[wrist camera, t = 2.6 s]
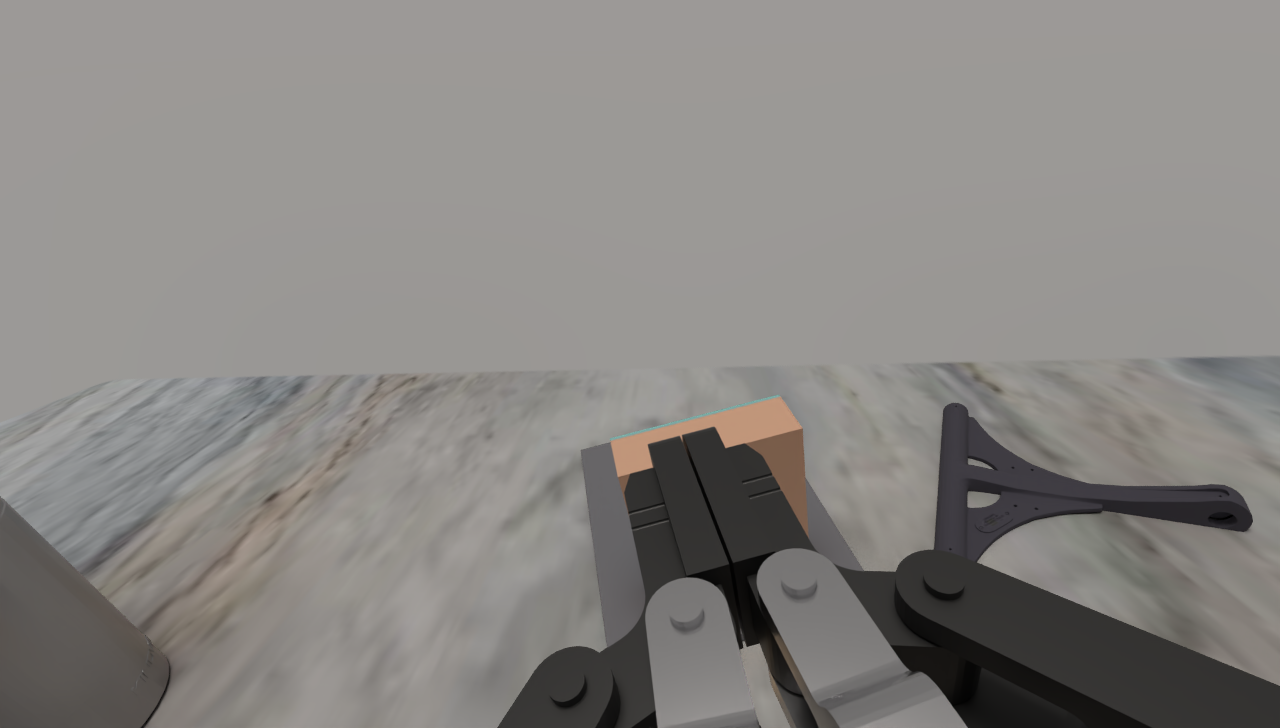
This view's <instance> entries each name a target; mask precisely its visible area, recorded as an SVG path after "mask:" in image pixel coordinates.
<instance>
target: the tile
mask: <svg viewBox="0 0 1280 728" xmlns="http://www.w3.org/2000/svg"><path fill="white" fill-rule="evenodd" d="M710 427H715V428H716V429H717V431H718V433H719V435H720V438H721V440H722V442H723V444H724V446H725V448H728V447H732V446H735V445H739V444H743V443H745V444H747V445H748V446H750V447H751V448H752V449H754V450H755V451H757V452H758V453H759V454H761V455H762V456H763V458H764V459H765V461H766V463H767V465H768V466H769V468H770V470H771V472H772V475H773V477H775V479H776V481H777V483H778V484H779V486H780V489H781V491H782V492H783V493H784V495H785V497H786V499H787V501H788V502H789V504H790V506H791V508H792V509H793V511H794V513H795V515H796V517H797V518H798V520H799V522H800V524H801V526H802V527H803V529H804V531H805V533H806V535H807V536H808V538H809V535H808V517H807V500H806V482H805V464H804V446H803V429H802V427H801V425H800V424H799V423H798V421H797V420H796V418H795V417H794V415H793V414H792V413H791V411H790V410H789V408H788V407H787V405H786V404H785V403H784V401H783V400H782V398H781V397H780V395H775V396H771V397H767V398H764V399H760V400H756V401H752V402H748V403H744V404H741V405H737V406H733V407H729V408H725V409H721V410H718V411H714V412H710V413H706V414H702V415H698V416H695V417H691V418H687V419H683V420H679V421H675V422H671V423H668V424H664V425H660V426H656V427H652V428H648V429H645V430H641V431H637V432H633V433H629V434H625V435H622V436H618V437H614V438H610V442H611V446H612V451H613V456H614V461H615V465H616V470H617V475H618V479H619V483H620V486H621V490H622V493H623V497H624V501H625V504H626V500H625V495H624V491H625V488H626V485H627V482H628V478H629V475H630V473H634V472H638V471H642V470H646V469H649V468H653V466H652V462H651V457H650V453H649V449H648V444H650V443H654V442H657V441H661V440H665V439H669V438H673V437H676V436H680V437H681V439H682V435H683V434H687V433H691V432H695V431H699V430H702V429H706V428H710ZM682 442H683V441H682ZM626 508H627V505H626ZM627 511H628V509H627ZM628 515H629V514H628Z"/></svg>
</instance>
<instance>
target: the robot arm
mask: <svg viewBox="0 0 1280 728" xmlns="http://www.w3.org/2000/svg"><path fill="white" fill-rule="evenodd" d="M682 441H683V442H682ZM648 449H649V453H650V457H651V462H652V466H653V468H649V469H646V470H642V471H638V472H634V473H630V475H629V478H628V482H627V485H626V488H625V491H624V495H625V500H626V505H627V509H628V514H629V519H630V523H631V528H632V533H633V538H634V542H635V547H636V552H637V556H638V561H639V566H640V570H641V575H642V580H643V585H644V589H645V605H644V609H643V612H642V614H641V617H640V618H639V620H638V622H637V623H636V625H635V626H634V627H633V629H632V630H631V631H630V632H629V633H628V634H627V635H625V636H624V637H623V638H621V639H620V640H619V641H617V642H615V643H614V644H612V645H611V646H609V647H608V648H606V649H605V650H603V651H601V652H600V653H599V652H597V651H595V650H593V649H591V648H588V647H581V646H575V647H569V648H564V649H562V650H559V651H557V652H555V653H554V654H552V655H550V656H549V657H548V658H546V659H545V660H544V661H543V662H542V663H541V664H540V665H539V666H538V667H537V669H536V670H535V671H534V673H533V674H532V676H531V677H530V679H529V680H528V682H527V683H526V685H525V686H524V688H523V689H522V691H521V692H520V694H519V695H518V697H517V699H516V700H515V702H514V703H513V705H512V706H511V708H510V709H509V711H508V712H507V714H506V715H505V717H504V718H503V720H502V721H501V723H500V725H499V726H498V728H761V726H760V725H759V722H758V719H757V716H756V712H755V708H754V704H753V700H752V697H751V693H750V689H749V685H748V681H747V677H746V673H745V670H744V666H743V662H742V658H741V653H740V649H742V648H743V643H742V637H741V632H742V635H743V638H744V640H745V643H746V646H747V647H748V646H752V645H755V644H759V643H760V645H761V648H762V651H763V653H764V656H765V659H766V661H767V664H768V670H769V677H770V682H771V685H772V688H773V690H774V692H775V694H776V697H777V699H778V701H779V703H780V705H781V707H782V710H783V712H784V714H785V716H786V718H787V720H788V723H789V725H790V727H791V728H1280V686H1278V685H1276V684H1274V683H1271V682H1269V681H1266V680H1264V679H1261V678H1259V677H1256V676H1254V675H1252V674H1249V673H1247V672H1244V671H1242V670H1239V669H1237V668H1234V667H1232V666H1229V665H1227V664H1225V663H1222V662H1220V661H1217V660H1215V659H1212V658H1210V657H1207V656H1205V655H1202V654H1200V653H1198V652H1195V651H1193V650H1190V649H1188V648H1185V647H1183V646H1180V645H1178V644H1175V643H1173V642H1171V641H1168V640H1166V639H1163V638H1161V637H1158V636H1156V635H1153V634H1151V633H1148V632H1146V631H1144V630H1141V629H1139V628H1136V627H1134V626H1131V625H1129V624H1126V623H1124V622H1122V621H1119V620H1117V619H1114V618H1112V617H1109V616H1107V615H1104V614H1102V613H1099V612H1097V611H1095V610H1092V609H1090V608H1087V607H1085V606H1082V605H1080V604H1077V603H1075V602H1072V601H1070V600H1068V599H1065V598H1063V597H1060V596H1058V595H1055V594H1053V593H1050V592H1048V591H1045V590H1043V589H1041V588H1038V587H1036V586H1033V585H1031V584H1028V583H1026V582H1023V581H1021V580H1018V579H1016V578H1014V577H1011V576H1009V575H1006V574H1004V573H1001V572H999V571H996V570H994V569H992V568H989V567H987V566H984V565H982V564H979V563H977V562H974V561H972V560H969V559H967V558H965V557H962V556H960V555H957V554H954V553H951V552H947V551H942V550H924V551H918V552H915V553H913V554H911V555H909V556H907V557H906V558H905V559H903V560H902V561H901V563H900V564H899V565H898V568H897V570H896V572H883V571H856V570H851V569H847V568H844V567H841V566H838V565H836V564H834V563H832V562H831V561H830V560H829V559H827V558H826V557H824V556H823V555H821V554H819V553H818V551H817V550H816V549H815V548H814V546H813V545H812V543H811V542H810V540H809V538H808V536H807V535H806V533H805V531H804V529H803V527H802V526H801V524H800V522H799V520H798V518H797V517H796V515H795V513H794V511H793V509H792V508H791V506H790V504H789V502H788V501H787V499H786V497H785V495H784V493H783V492H782V491H781V489H780V486H779V484H778V483H777V481H776V479H775V477H773V475H772V472H771V470H770V468H769V466H768V465H767V463H766V461H765V459H764V458H763V456H762V455H761V454H759V453H758V452H757V451H755V450H754V449H752V448H751V447H750V446H748V445H747V444H745V443H743V444H739V445H735V446H732V447H728V448H725V446H724V444H723V442H722V440H721V438H720V435H719V433H718V431H717V429H716V428H715V427H710V428H706V429H702V430H699V431H695V432H691V433H687V434H683V435H682V439H681V437H680V436H676V437H673V438H669V439H665V440H661V441H657V442H654V443H650V444H648ZM740 629H741V631H740ZM168 678H169V664H168V661H167V658H166V656H164V655H163V654H162V653H161V652H160V651H159V650H158V649H157V648H156V647H155V646H154V645H153V644H152V642H151V640H150V639H149V638H148V637H147V636H146V635H145V636H144V635H143V634H142V633H141V632H140V631H139V630H138V629H137V628H136V627H135V626H134V625H133V624H132V623H131V622H130V621H129V620H128V619H127V618H126V617H125V616H124V615H123V614H122V613H121V612H120V611H119V610H118V609H117V608H116V607H115V606H114V605H112V604H111V603H110V602H109V601H108V600H107V599H106V598H105V597H104V596H103V595H102V594H101V593H100V592H99V591H98V590H97V589H96V588H95V587H94V586H93V585H92V584H91V583H90V582H89V581H88V580H87V579H86V578H85V577H84V576H82V575H81V574H80V573H79V572H78V571H77V570H76V569H75V568H74V567H73V566H72V565H71V564H70V563H69V562H68V561H67V560H66V559H65V558H64V557H63V556H62V555H61V554H60V553H59V552H58V551H57V550H56V549H55V548H54V547H52V546H51V545H50V544H49V543H48V542H47V541H46V540H45V539H44V538H43V537H42V536H41V535H40V534H39V533H38V532H37V531H36V530H35V529H34V528H33V527H32V526H31V525H30V524H29V523H28V522H27V521H26V520H25V519H23V518H22V517H21V516H20V515H19V514H18V513H17V512H16V511H15V510H14V509H13V508H12V507H11V506H10V505H9V504H8V503H7V502H6V501H5V500H4V499H3V498H1V497H0V728H141V726H142V725H143V724H144V723H145V722H146V720H147V719H148V717H149V716H150V714H151V713H152V712H153V710H154V709H155V707H156V706H157V704H158V702H159V700H160V698H161V696H162V694H163V692H164V690H165V687H166V684H167V681H168Z"/></svg>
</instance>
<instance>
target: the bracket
mask: <svg viewBox="0 0 1280 728" xmlns="http://www.w3.org/2000/svg"><path fill="white" fill-rule="evenodd" d="M968 458H970V459H975V460H978V461H981V462H983V463H985V464H987V465H989V466H990V467H992V468H993V469H994V470H992V469H988V468H983V467H979V466H974V465H968ZM968 491H976V492H985V493H992V494H998V495H1001V497H1000V499H999V500H998V501H997V502H996V503H994V504H992V505H990V506H987V507H982V508H968V507H967V492H968ZM1102 510H1103V511H1110V512H1116V513H1123V514H1129V515H1136V516H1143V517H1149V518H1156V519H1162V520H1169V521H1175V522H1182V523H1188V524H1195V525H1201V526H1208V527H1215V528H1221V529H1228V530H1234V531H1241V532H1244V531H1245V530H1247V529H1248V528H1249V527H1250V526H1251V525H1252V522H1253V519H1252V515H1251V513H1250V510H1249V508H1248V506H1247V504H1246V502H1245V500H1244V498H1243V497H1242V496H1241V495H1240V494H1239V493H1238V492H1237V491H1236V490H1234V489H1232V488H1230V487H1228V486H1225V485H1214V484H1210V485H1198V486H1116V485H1101V484H1089V483H1085V482H1081V481H1078V480H1074V479H1071V478H1067V477H1064V476H1061V475H1058V474H1055V473H1053V472H1050V471H1047V470H1045V469H1042V468H1040V467H1037V466H1035V465H1032V464H1030V463H1028V462H1027V461H1025V460H1023V459H1022V458H1020V457H1018V456H1016V455H1015V454H1013V453H1012V452H1010V451H1008V450H1007V449H1006V448H1004V447H1003V446H1001V445H1000V444H999V443H997V442H996V441H995V440H994V439H993V438H992V437H990V436H989V435H988V434H987V433H986V432H985V431H984V429H983V428H982V427H981V426H980V425H979V423H978V422H977V421H976V420H975V419H974V418H973V417H969V416H968V410H967V408H966V407H965V406H963V405H962V404H959V403H951V404H949V405H947V406H946V407H945V408H944V410H943V425H942V440H941V455H940V471H939V486H938V501H937V516H936V532H935V547H934V550H942V551H947V552H951V553H954V554H957V555H960V556H962V557H965V558H967V559H969V560H972V561H974V562H977V561H978V559H979V558H980V557H981V555H982V554H983V553H984V552H985V551H986V550H987V548H988V547H989V546H990V545H992V544H993V543H994V542H995V541H996V540H997V539H999V538H1000V537H1002V536H1003V535H1004V534H1006V533H1008V532H1009V531H1011V530H1013V529H1015V528H1017V527H1019V526H1021V525H1023V524H1026V523H1028V522H1030V521H1032V520H1035V519H1039V518H1044V517H1050V516H1055V515H1062V514H1069V513H1088V512H1101V511H1102ZM1231 514H1232V515H1233V516H1232V517H1231V518H1229V519H1226V520H1213V519H1210V518H1209V516H1210V517H1213V518H1224V517H1227V516H1229V515H1231Z"/></svg>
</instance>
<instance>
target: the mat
mask: <svg viewBox="0 0 1280 728" xmlns="http://www.w3.org/2000/svg"><path fill="white" fill-rule="evenodd" d="M581 455H582V463H583V470H584V478H585V485H586V493H587V500H588V508H589V515H590V523H591V530H592V537H593V545H594V552H595V560H596V567H597V575H598V582H599V590H600V597H601V605H602V612H603V619H604V627H605V634H606V642H607V648H608V647H609V646H611V645H612V644H614V643H615V642H617V641H619V640H620V639H621V638H623V637H624V636H625V635H627V634H628V633H629V632H630V631H631V630H632V629H633V627H634V626H635V625H636V623H637V622H638V620H639V618H640V617H641V614H642V612H643V609H644V605H645V589H644V585H643V580H642V575H641V570H640V566H639V561H638V556H637V552H636V547H635V542H634V538H633V533H632V528H631V523H630V519H629V515H628V511H627V508H626V504H625V501H624V497H623V493H622V490H621V486H620V483H619V479H618V475H617V470H616V465H615V461H614V456H613V451H612V446H611V442H610V443H606V444H602V445H599V446H595V447H591V448H587V449H583V450H581ZM805 482H806V500H807V517H808V535H809V540H810V542H811V543H812V545H813V546H814V548H815V549H816V550H817V551H818V553H819V554H821V555H823V556H824V557H826V558H827V559H829V560H830V561H831V562H832V563H834V564H836V565H838V566H841V567H844V568H847V569H851V570H856V571H864V570H863V569H862V567H861V566H860V564H859V562H858V561H857V559H856V558H855V556H854V554H853V553H852V551H851V550H850V548H849V546H848V545H847V543H846V542H845V540H844V538H843V537H842V535H841V534H840V532H839V531H838V529H837V527H836V526H835V524H834V523H833V521H832V519H831V518H830V516H829V515H828V513H827V511H826V510H825V508H824V507H823V505H822V503H821V502H820V500H819V499H818V497H817V495H816V494H815V492H814V491H813V489H812V487H811V486H810V484H809V483H808V481H807V479H806V478H805ZM740 631H741V629H740ZM741 637H742V640H744V638H743V635H742V632H741Z"/></svg>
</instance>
